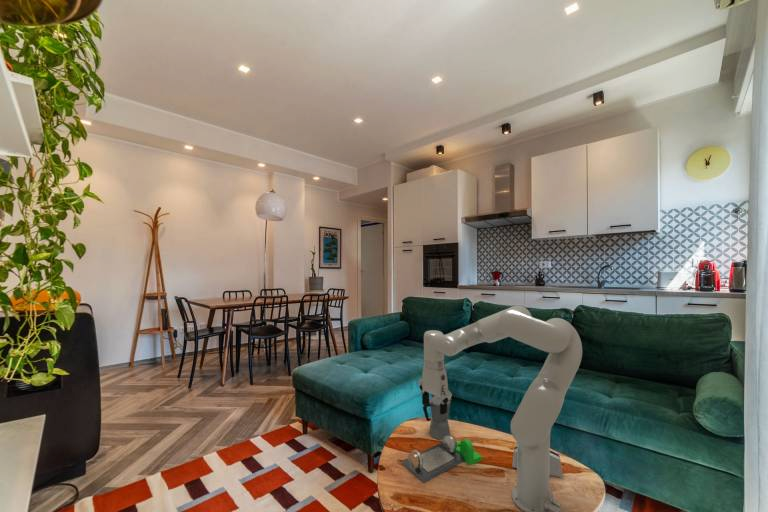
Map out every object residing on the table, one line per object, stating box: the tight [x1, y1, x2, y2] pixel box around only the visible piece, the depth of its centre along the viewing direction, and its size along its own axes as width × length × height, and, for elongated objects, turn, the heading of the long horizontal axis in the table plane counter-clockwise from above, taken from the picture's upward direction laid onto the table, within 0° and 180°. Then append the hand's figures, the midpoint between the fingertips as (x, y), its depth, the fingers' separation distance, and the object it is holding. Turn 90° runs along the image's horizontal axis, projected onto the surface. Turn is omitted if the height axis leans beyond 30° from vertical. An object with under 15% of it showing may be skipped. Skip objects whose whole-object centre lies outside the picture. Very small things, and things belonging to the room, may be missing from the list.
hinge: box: [511, 444, 564, 479], centre depth 119 cm, size 17×5×10 cm, turn 70°
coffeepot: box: [422, 395, 453, 441], centre depth 144 cm, size 15×9×18 cm, turn 117°
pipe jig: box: [402, 434, 465, 483], centre depth 124 cm, size 21×12×8 cm, turn 125°
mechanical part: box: [455, 438, 483, 466], centre depth 129 cm, size 12×6×8 cm, turn 26°
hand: (434, 408), depth 124 cm, fingers open, 9 cm apart
